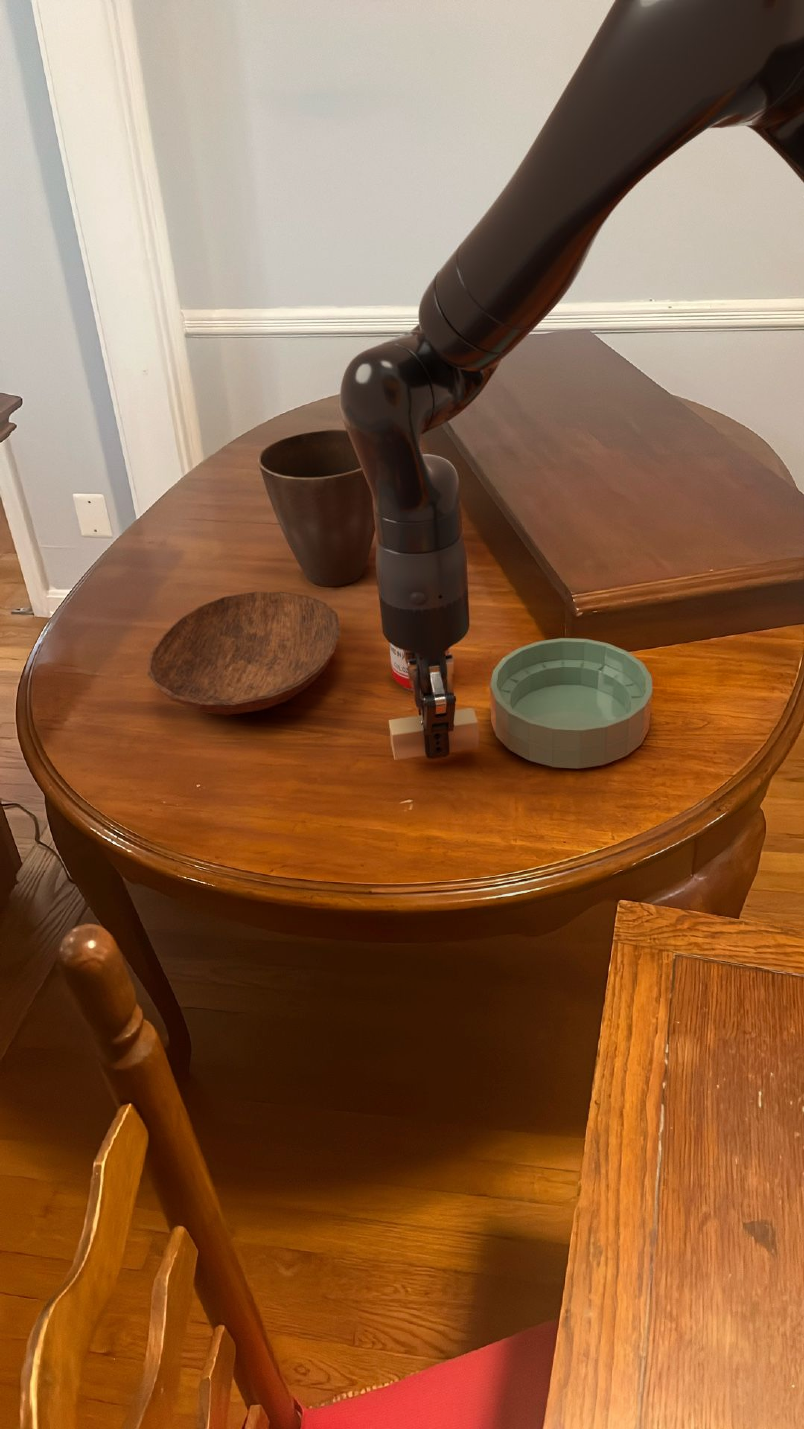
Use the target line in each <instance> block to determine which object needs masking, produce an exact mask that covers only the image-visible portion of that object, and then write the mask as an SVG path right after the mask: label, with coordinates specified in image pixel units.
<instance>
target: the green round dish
mask: <svg viewBox="0 0 804 1429" xmlns="http://www.w3.org/2000/svg"><path fill="white" fill-rule="evenodd" d="M489 688H490V689H489V690H490V692H489V693H490V697H489V698H490V723H491V725H492V729H493V731H494V734H495V737H496V738H497V739H498V740H499V741H500V742H501V743H502V744H503V745H504V746H505V747H506V748H507V749H508V750H509V751H510V752H512V753H514V754H516V755H518V756H520V757H522V758H523V759H525V760H526V761H529V762H533V763H536V764H541V765H544V766H546V767H551V768H563V769H577V770H578V769H579V770H580V769H584V768H585V769H586V768H592V767H598V766H604V765H607V764H609V763H612V762H614V761H618V760H620V759H623V758H625V757H627V756H628V755H629V754H631V753H632V752H633V751H635V750H636V749H637V748H638V747H640V746H641V745H642V743H643V742H644V740H645V738H646V736H647V734H648V732H649V731H650V722H651V715H652V714H651V713H652V703H653V692H654V691H653V690H654V688H653V677H652V675H651V673H650V672H649V670H648V668H647V667H646V665H645V664H644V663H643V662H642V661H641V660H639V658H637V657H636V656H634V655H633V654H632V653H631V652H629V651H628V650H625V649H623V648H620V647H618V646H615V645H613V644H612V643H608V642H603V641H599V640H593V639H589V638H572V637H571V638H570V637H568V638H567V637H559V638H553V639H546V640H539V641H538V640H537V641H535V642H533V643H530V644H526V645H524V646H521V647H518V648H517V649H515V650H513V651H512V652H510V653H508V654H507V655H505V656H504V657H503V658H501V659H500V661H499V662H498V663H497V665H496V666H495V668H494V669H493V670H492V674H491V678H490V684H489Z"/></svg>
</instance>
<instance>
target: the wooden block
mask: <svg viewBox="0 0 804 1429" xmlns="http://www.w3.org/2000/svg"><path fill="white" fill-rule="evenodd" d="M420 720H422V719H421V715H419V714H418V715H413V716H407V717H400V718H393V719H389V720H388V726H389V727H388V728H389V736H390V745H391V749H392V755H393V759H394V760H395V761H398V760H399V761H400V760H405V759H411V758H416V757H417V758H418V757H425V756H426V753H425V744H424V732H423V726H422V725H421V722H420ZM479 728H480V727H479V720H478V718H477V714H476V711H475V709H474V707H468V708H461V709H455V716H454V727H453V731H451V732H448V733H449V749H450V753H452V752H459V751H465V750H466V751H467V750H471V749H479V748H480V732H479V730H480V729H479Z"/></svg>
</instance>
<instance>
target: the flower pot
mask: <svg viewBox="0 0 804 1429" xmlns="http://www.w3.org/2000/svg"><path fill="white" fill-rule="evenodd" d="M257 463H258V466H259V470H260V473H261V476H262V479H263V483H264V486H265V489H266V492H267V495H268V498H269V501H270V504H271V506H272V508H273V512H274V515H275V517H276V519H277V522H278V524H279V526H280V529H281V531H282V533H283V536H284V538H285V540H286V542H287V544H288V546H289V548H290V550H291V552H292V554H293V556H294V557H295V560H296V563H298V565H299V567H300V569H301V570H302V572H303V574H304V575H305V577H306V579H307V580H308V582H311V583H312V584H314V585H316V586H317V585H318V586H321V587H340V586H345V585H349V584H351V583H354V582H355V581H357V580H359V579H360V578H361V577H362V576H363V575H364V573H365V570H366V566H367V563H368V560H369V557H370V554H371V551H372V550H371V549H372V545H373V542H374V537H375V535H376V532H375V523H374V513H373V504H372V494H371V491H370V488H369V486H368V483H367V481H366V478H365V476H364V474H363V471H362V469H361V466H360V463H359V460H358V458H357V455H356V453H355V450H354V448H353V445H352V443H351V440H350V438H349V435H348V433H347V430H346V429H339V428H338V429H337V428H335V429H317V430H309V431H303V432H300V433H295V434H292V435H288V436H285V437H283V438H280V439H278V440H276V441H274V442H271V443H270V444H268V445H267V446H266V447H264V448H263V449H261V452H259V455H258V457H257Z"/></svg>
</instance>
